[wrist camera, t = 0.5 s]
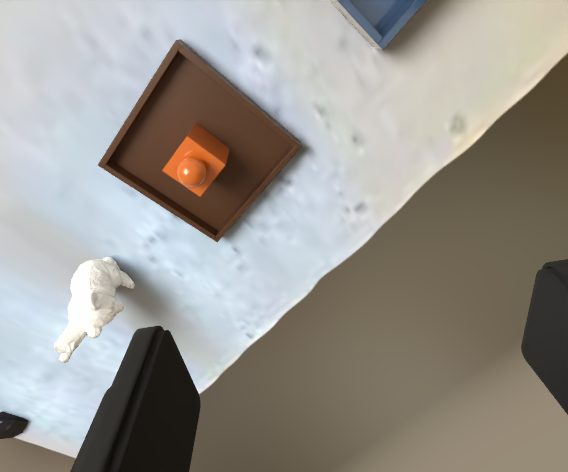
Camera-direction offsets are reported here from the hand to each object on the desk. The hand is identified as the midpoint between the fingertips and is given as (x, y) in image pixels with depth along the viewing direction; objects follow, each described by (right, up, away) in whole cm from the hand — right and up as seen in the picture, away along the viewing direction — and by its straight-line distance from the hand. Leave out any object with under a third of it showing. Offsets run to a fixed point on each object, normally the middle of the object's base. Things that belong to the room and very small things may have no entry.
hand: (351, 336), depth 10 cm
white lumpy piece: (-24, -2, +38) cm, 45 cm away
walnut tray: (-11, +12, +30) cm, 34 cm away
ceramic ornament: (-11, +12, +30) cm, 34 cm away
